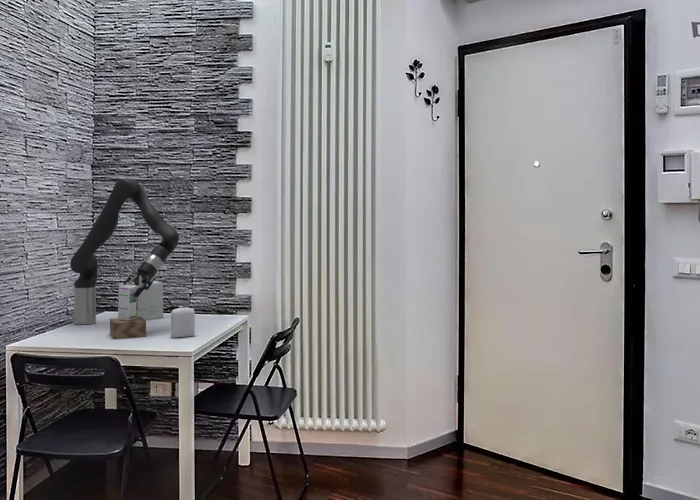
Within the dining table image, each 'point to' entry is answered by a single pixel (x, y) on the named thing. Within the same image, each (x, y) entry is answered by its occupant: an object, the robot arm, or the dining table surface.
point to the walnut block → (127, 328)
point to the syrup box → (127, 303)
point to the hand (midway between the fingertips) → (129, 295)
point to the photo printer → (182, 322)
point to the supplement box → (150, 301)
